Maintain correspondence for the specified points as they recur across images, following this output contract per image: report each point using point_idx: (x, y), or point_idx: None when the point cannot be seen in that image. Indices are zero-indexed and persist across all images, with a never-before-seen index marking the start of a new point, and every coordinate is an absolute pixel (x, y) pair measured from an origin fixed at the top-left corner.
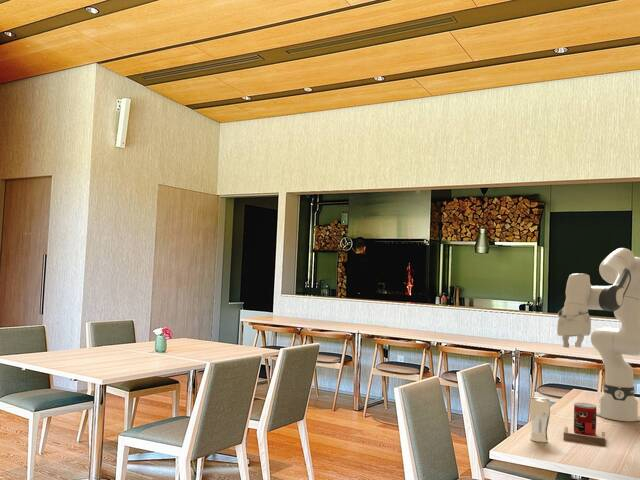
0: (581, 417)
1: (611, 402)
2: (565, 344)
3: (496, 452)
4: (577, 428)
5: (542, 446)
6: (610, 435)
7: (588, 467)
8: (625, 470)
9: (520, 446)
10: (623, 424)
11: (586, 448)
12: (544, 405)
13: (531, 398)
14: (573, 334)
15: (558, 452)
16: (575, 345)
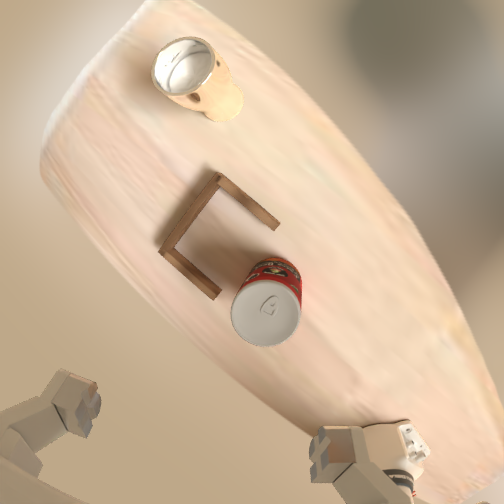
0: (253, 274)
1: (374, 456)
2: (327, 448)
3: None
4: (268, 260)
5: None
6: None
7: (65, 114)
8: (49, 172)
9: None
10: None
11: (150, 184)
12: (157, 71)
13: (196, 38)
14: (55, 489)
15: (134, 99)
16: (77, 380)
